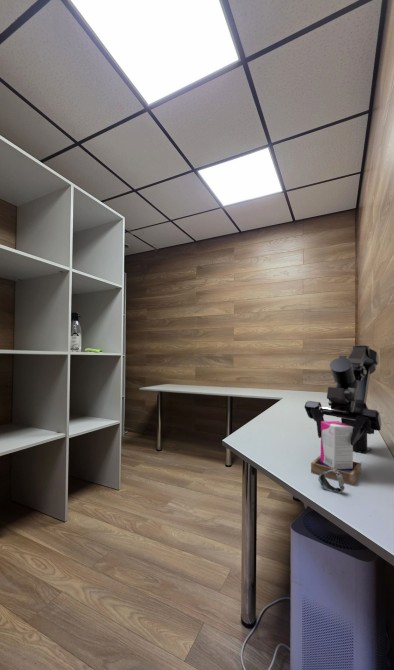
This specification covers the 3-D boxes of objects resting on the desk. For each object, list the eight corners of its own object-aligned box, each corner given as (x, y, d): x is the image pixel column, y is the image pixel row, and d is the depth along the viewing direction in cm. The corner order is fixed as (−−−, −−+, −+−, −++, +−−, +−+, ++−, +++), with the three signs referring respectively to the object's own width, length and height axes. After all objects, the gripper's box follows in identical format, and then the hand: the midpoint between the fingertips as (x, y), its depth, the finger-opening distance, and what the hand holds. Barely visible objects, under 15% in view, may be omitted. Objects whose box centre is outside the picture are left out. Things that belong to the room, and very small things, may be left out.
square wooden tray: (322, 462, 79) (322, 453, 79) (361, 472, 72) (360, 463, 73) (311, 472, 72) (311, 462, 72) (352, 485, 65) (352, 474, 65)
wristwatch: (334, 494, 64) (319, 473, 66) (351, 486, 61) (334, 464, 63) (328, 499, 62) (313, 478, 64) (345, 491, 59) (329, 469, 61)
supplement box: (353, 470, 70) (353, 426, 71) (333, 471, 69) (333, 426, 70) (338, 461, 76) (338, 420, 76) (319, 462, 75) (319, 420, 75)
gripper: (306, 374, 83) (292, 416, 74) (378, 379, 70) (371, 431, 62) (315, 397, 88) (302, 438, 80) (383, 405, 76) (377, 456, 67)
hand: (334, 440), depth 72 cm, fingers closed on supplement box, 8 cm apart
